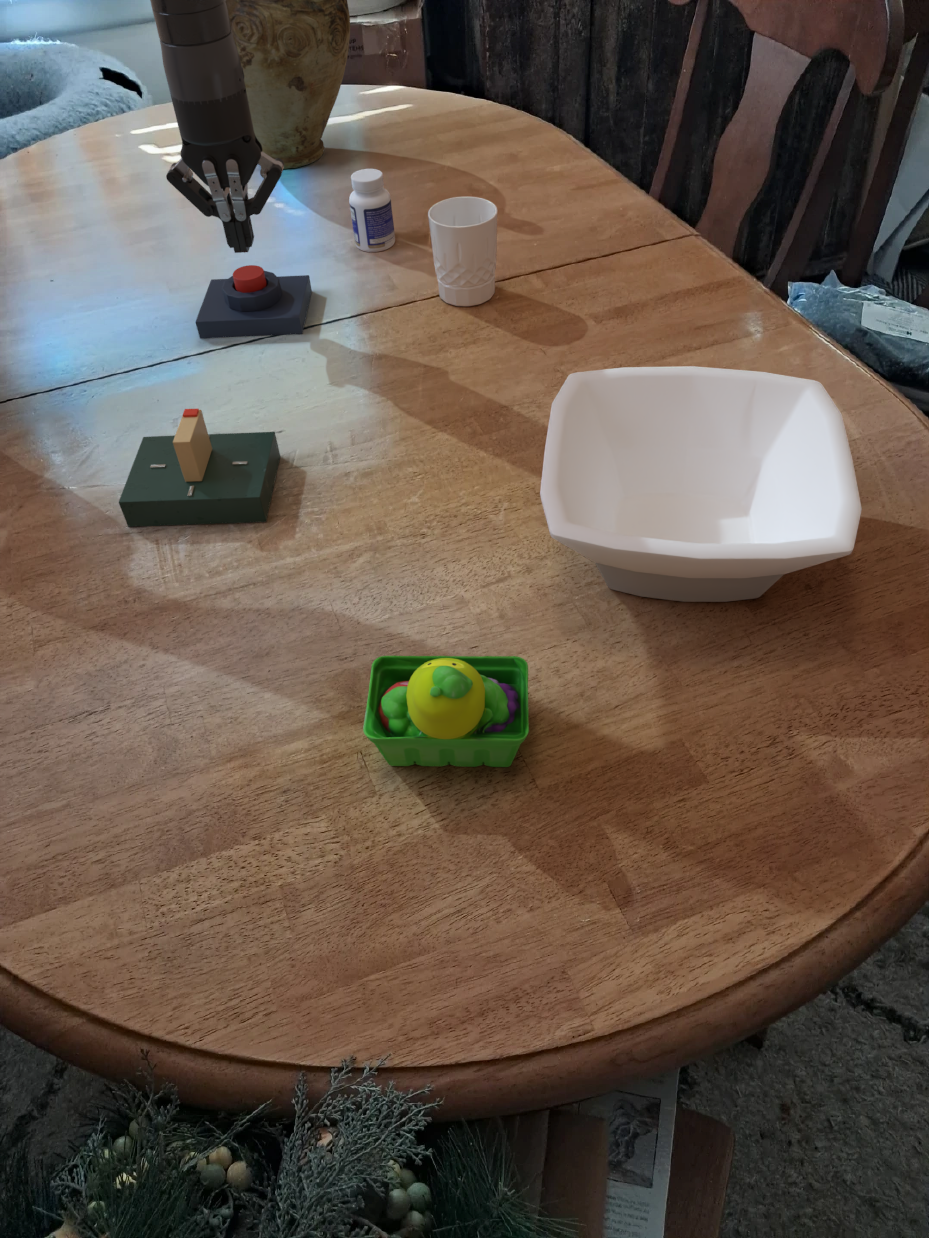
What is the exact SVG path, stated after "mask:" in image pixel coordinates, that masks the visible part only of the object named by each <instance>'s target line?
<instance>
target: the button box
mask: <svg viewBox="0 0 929 1238" xmlns="http://www.w3.org/2000/svg"><path fill="white" fill-rule="evenodd" d="M264 274H265V279H266V284H267V285H266V287H264V288H263V289H262V290H259V291H255V292H250V293H242V292H238V291H237V290H236V288H235V283H234V279H233V275H231V276H230V277H228V278H215V279H211V280H210V282H209V285H208V287H207V289H206V292H205V295H204V298H203V300H202V303H201V307H200V308H199V311H198V314H197V317H196V320H195V325H196V329H197V333H198V337H199V339H200V340H201V339H220V338H221V339H222V338H223V339H224V338H244V337H245V338H246V337H270V336H294V335H303V333H304V328H305V324H306V320H307V316H308V310H309V307H310V302H311V298H312V292H313V291H312V285H311V280H310V279H311V278H310V275H309V274H306V275H305V274H303V275H302V274H301V275H283V276H282V275H281V276H277V275H276V274H275V273H274V272H272V271H268V270H264Z"/></svg>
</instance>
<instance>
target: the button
mask: <svg viewBox="0 0 929 1238" xmlns="http://www.w3.org/2000/svg"><path fill="white" fill-rule="evenodd" d="M264 271H265V270H264V268H263V267H261V266H260V265H257V264H256V265H255V264H248V265H243V266H240V267H237V268H236V269H235V270H234V271H233V272H232V276H233V279H234V283H235V288H236V290H237V291H238V292H242V293H250V292H255V291H259V290H262V289H263V288H264V287H266V285H267V284H266V279H265V274H264Z"/></svg>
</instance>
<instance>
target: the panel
mask: <svg viewBox="0 0 929 1238" xmlns="http://www.w3.org/2000/svg"><path fill="white" fill-rule="evenodd" d="M208 435H209V439H210V442H211V446H212V451H211V454H210V457H209V461H208V464H207V467H206V470H205V473H204V476H203V479H202V481H194V482H185V479H184V476H183V473H182V470H181V467H180V464H179V461H178V457H177V454H176V451H175V448H174V445H173V440H174V437H175V435H154V436H153V435H152V436H143V437H142V440H141V442H140V444H139V448H138V449H137V453H136V455H135V458H134V461H133V463H132V465H131V467H130V471H129V473H128V477H127V479H126V482H125V484H124V486H123V490H122V492H121V495H120V497H119V500H118V504H119V507H120V509H121V513H122V515H123V517H124V520H125V522H126V525H127V527H129V528H130V527H133V528H134V527H161V526H162V527H163V526H187V525H188V526H190V525H215V524H217V525H219V524H245V523H266V522H267V520H268V515H269V511H270V507H271V501H272V496H273V493H274V492H273V491H274V486H275V482H276V478H277V473H278V469H279V464H280V459H281V454H280V448H279V444H278V439H277V435H276V431H259V432H257V431H256V432H255V431H254V432H231V433H208Z"/></svg>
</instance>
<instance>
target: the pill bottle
mask: <svg viewBox="0 0 929 1238" xmlns="http://www.w3.org/2000/svg"><path fill="white" fill-rule="evenodd" d="M350 181H351V187H352V190H353V191H352V192H351V193H350V194H349V197H348V199H349V200H348V202H349V203H348V204H349V210H350V211H349V212H350V217H351V224H352V232H353V238H354V244H355V247H356V248H357V249H358V250H360V251H362V252H366V253H378V252H383V251H386V250H388V249H390V248H392V247H393V246H394V245H395V242H396V233H395V224H394V216H393V207H392V206H393V205H392V199H391V194H390V192H389V190H388V189H387V188H385V187H384V186H385V181H384V174H383V172H382V171H381V170H379V169H376V168H363V169H359V170H356V171H353V173H352V174H351V175H350Z"/></svg>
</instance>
